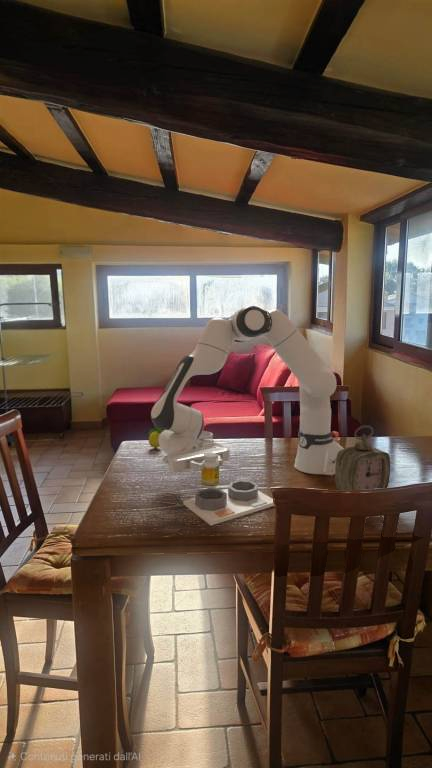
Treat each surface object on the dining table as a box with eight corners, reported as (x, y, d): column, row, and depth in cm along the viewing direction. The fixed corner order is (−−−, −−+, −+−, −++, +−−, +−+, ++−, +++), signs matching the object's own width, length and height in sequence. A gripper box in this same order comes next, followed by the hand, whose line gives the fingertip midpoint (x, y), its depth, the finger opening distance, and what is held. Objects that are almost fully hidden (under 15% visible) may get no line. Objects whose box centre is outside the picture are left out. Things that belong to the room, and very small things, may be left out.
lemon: (164, 450, 194) (163, 427, 192) (150, 451, 192) (149, 428, 190) (161, 445, 200) (160, 423, 198) (147, 446, 198) (147, 424, 197)
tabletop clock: (349, 514, 137) (354, 432, 133) (330, 501, 146) (334, 424, 141) (387, 505, 143) (393, 426, 138) (367, 493, 151) (372, 419, 147)
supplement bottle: (203, 480, 144) (204, 450, 142) (220, 482, 142) (221, 452, 141) (199, 487, 138) (199, 456, 137) (216, 489, 137) (217, 458, 136)
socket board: (246, 487, 157) (246, 475, 156) (277, 504, 143) (277, 492, 143) (183, 504, 144) (183, 491, 143) (211, 525, 131) (210, 511, 130)
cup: (196, 446, 198) (196, 428, 197) (215, 447, 197) (215, 429, 196) (191, 455, 188) (191, 436, 186) (211, 456, 187) (211, 437, 185)
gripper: (159, 448, 144) (181, 462, 132) (215, 438, 155) (239, 449, 143) (159, 467, 145) (181, 483, 134) (215, 456, 156) (239, 469, 144)
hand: (211, 465), depth 138 cm, fingers closed on supplement bottle, 5 cm apart
